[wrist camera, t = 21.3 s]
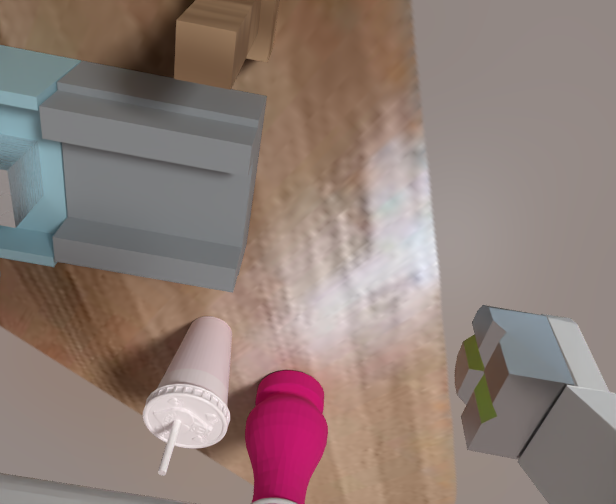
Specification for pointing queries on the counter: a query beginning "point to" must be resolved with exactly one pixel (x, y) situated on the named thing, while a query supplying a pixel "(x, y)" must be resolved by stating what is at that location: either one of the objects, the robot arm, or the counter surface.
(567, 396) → the robot arm
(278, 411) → the pepper mill
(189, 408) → the smoothie
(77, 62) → the tray
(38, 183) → the grey cube
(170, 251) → the groove board
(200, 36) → the brown bar
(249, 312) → the counter surface
